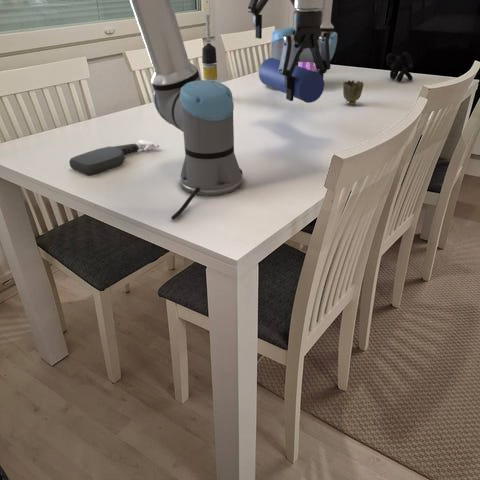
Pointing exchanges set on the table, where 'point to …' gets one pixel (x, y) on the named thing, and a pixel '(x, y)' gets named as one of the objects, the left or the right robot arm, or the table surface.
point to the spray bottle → (106, 157)
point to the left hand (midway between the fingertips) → (303, 97)
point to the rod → (305, 80)
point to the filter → (209, 57)
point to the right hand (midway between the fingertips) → (277, 37)
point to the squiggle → (399, 66)
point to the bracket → (308, 66)
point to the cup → (352, 91)
